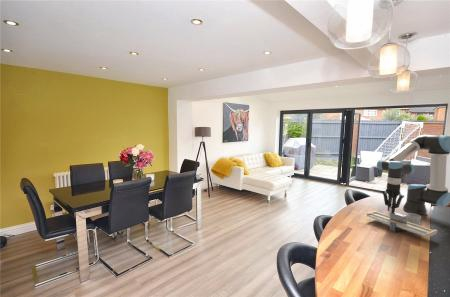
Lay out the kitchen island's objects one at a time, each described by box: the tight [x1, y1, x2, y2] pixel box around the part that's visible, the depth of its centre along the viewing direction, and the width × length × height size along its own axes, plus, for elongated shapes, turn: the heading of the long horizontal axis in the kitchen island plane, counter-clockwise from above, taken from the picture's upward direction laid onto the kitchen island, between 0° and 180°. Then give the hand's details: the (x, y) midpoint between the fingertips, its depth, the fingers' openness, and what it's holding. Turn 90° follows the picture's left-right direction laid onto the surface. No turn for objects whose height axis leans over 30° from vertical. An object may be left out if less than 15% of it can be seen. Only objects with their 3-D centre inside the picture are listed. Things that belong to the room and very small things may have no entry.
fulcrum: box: [389, 222, 403, 234], centre depth 153 cm, size 15×3×6 cm, turn 117°
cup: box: [405, 212, 422, 226], centre depth 158 cm, size 7×10×9 cm
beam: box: [366, 210, 438, 238], centre depth 152 cm, size 12×36×2 cm, turn 27°
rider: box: [390, 212, 407, 224], centre depth 153 cm, size 4×8×6 cm, turn 27°
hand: (390, 216), depth 157 cm, fingers closed
